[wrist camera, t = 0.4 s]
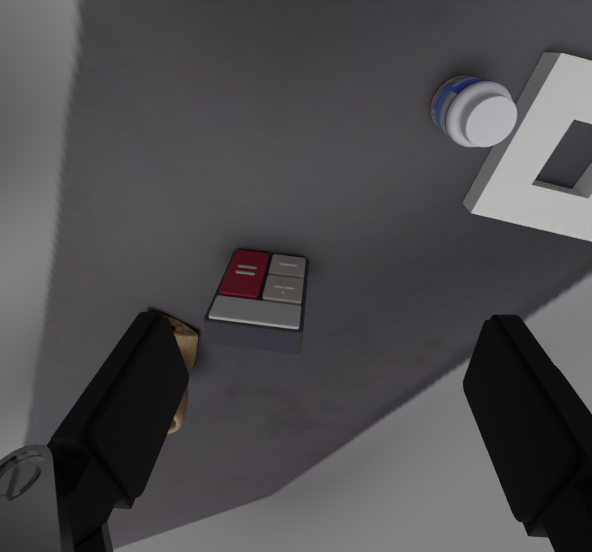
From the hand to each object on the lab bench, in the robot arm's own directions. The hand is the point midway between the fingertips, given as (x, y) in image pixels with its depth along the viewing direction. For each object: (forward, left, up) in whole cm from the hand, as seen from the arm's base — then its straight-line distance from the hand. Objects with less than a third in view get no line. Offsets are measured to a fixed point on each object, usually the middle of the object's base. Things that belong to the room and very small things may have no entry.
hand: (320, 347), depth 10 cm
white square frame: (-3, +27, -34) cm, 43 cm away
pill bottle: (-5, +13, -34) cm, 36 cm away
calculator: (+20, -3, -34) cm, 39 cm away
